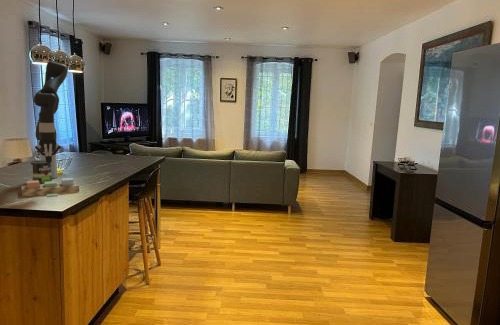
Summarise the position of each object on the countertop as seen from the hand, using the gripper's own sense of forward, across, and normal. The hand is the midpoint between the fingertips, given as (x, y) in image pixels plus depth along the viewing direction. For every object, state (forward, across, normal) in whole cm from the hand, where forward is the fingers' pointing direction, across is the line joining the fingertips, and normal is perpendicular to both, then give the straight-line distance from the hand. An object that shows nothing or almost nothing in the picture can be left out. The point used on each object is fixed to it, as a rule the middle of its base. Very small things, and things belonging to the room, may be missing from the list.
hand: (48, 162), depth 200 cm
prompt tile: (+16, 0, +9) cm, 18 cm away
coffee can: (+17, +3, -19) cm, 25 cm away
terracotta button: (+14, +8, 0) cm, 16 cm away
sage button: (+15, 0, 0) cm, 15 cm away
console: (+16, 0, 0) cm, 16 cm away
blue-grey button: (+14, -9, 0) cm, 16 cm away
